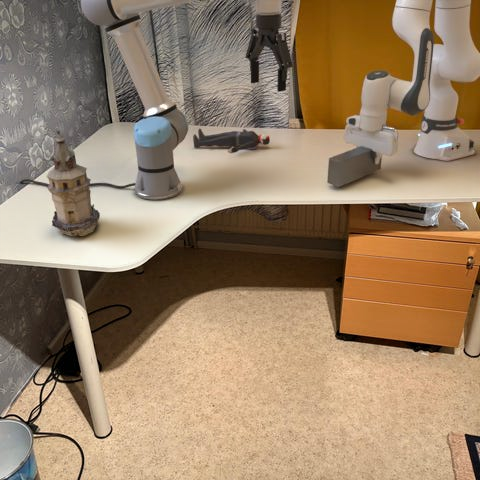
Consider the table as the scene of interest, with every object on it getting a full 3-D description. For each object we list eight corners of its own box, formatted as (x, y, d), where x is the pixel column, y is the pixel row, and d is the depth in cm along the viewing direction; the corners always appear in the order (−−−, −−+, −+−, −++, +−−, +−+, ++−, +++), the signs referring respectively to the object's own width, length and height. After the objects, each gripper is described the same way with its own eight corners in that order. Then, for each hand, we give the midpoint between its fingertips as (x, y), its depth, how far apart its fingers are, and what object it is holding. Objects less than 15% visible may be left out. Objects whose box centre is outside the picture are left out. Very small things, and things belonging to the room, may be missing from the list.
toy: (204, 122, 226) (274, 122, 220) (205, 136, 229) (274, 137, 223) (186, 142, 204) (264, 143, 198) (188, 157, 207) (264, 159, 201)
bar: (338, 187, 175) (340, 161, 171) (327, 182, 178) (328, 158, 174) (380, 169, 188) (383, 145, 184) (369, 165, 191) (371, 142, 187)
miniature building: (80, 214, 164) (63, 117, 149) (111, 225, 157) (96, 125, 142) (44, 231, 154) (22, 130, 140) (75, 244, 147) (55, 139, 133)
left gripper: (306, 16, 150) (303, 92, 160) (253, 8, 168) (253, 77, 178) (285, 18, 146) (283, 96, 157) (233, 10, 164) (235, 81, 174)
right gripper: (404, 126, 173) (399, 166, 180) (354, 113, 187) (351, 151, 194) (393, 131, 170) (388, 171, 177) (342, 117, 183) (339, 155, 190)
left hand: (267, 86), depth 167 cm, fingers open, 13 cm apart
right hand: (368, 161), depth 185 cm, fingers closed on bar, 5 cm apart
